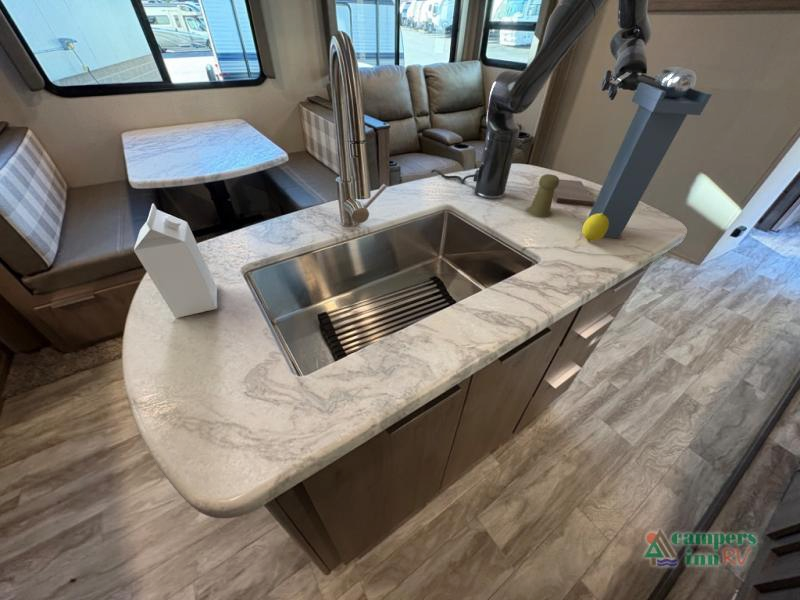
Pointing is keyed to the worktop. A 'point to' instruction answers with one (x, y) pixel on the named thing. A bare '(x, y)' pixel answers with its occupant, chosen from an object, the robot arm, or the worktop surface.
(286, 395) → the worktop surface
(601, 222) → the lemon
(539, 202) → the olive green pawn
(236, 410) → the worktop surface
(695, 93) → the shelf stand
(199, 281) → the milk carton
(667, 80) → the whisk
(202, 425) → the worktop surface
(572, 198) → the cutting board
